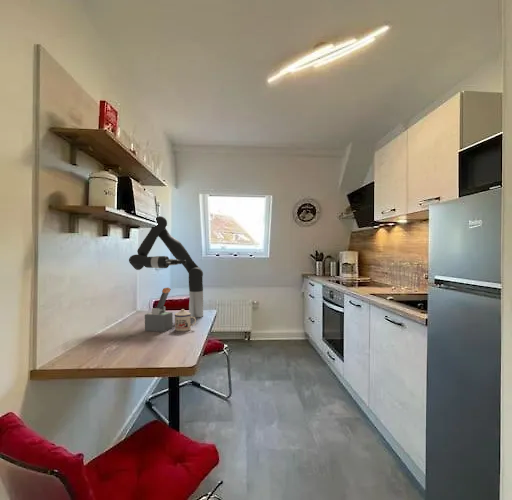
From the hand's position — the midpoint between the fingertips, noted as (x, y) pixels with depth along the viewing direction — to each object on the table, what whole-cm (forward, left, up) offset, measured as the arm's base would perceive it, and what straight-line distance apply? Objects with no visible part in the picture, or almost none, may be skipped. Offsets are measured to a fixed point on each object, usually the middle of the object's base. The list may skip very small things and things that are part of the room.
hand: (185, 262), depth 218 cm
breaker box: (+2, -19, -38) cm, 42 cm away
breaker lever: (+1, -19, -28) cm, 34 cm away
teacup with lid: (+13, -8, -38) cm, 41 cm away
